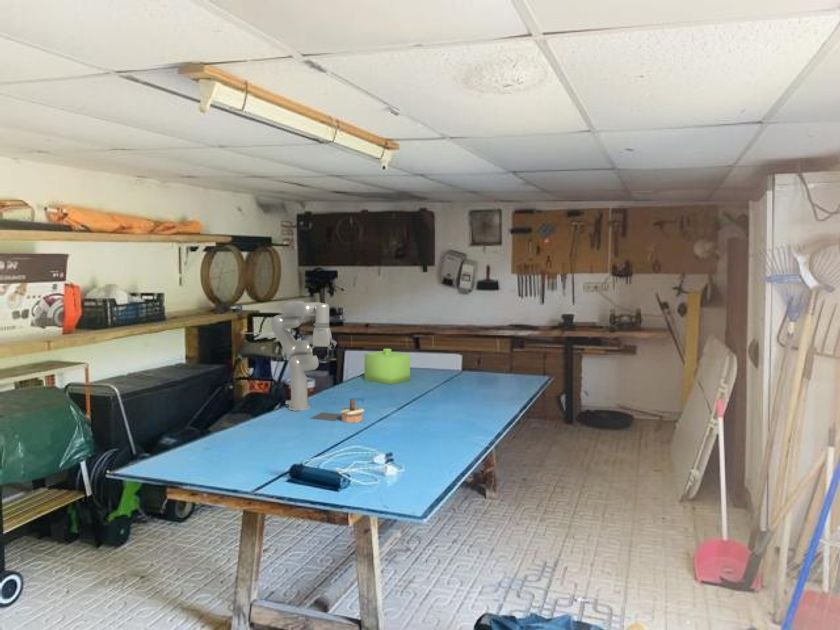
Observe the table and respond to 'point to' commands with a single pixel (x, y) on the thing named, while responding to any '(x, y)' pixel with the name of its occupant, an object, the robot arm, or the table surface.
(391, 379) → the canister
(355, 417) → the bowl
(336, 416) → the mat
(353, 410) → the lid
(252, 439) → the table surface
